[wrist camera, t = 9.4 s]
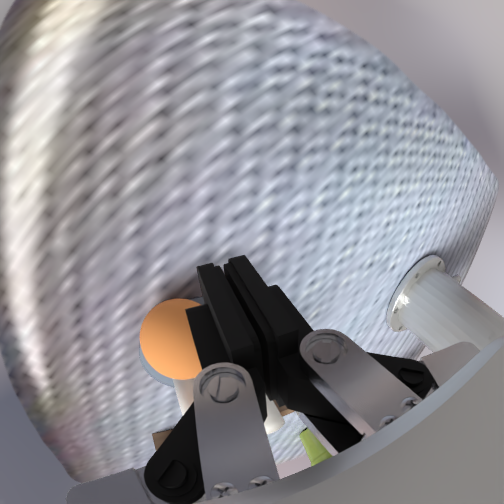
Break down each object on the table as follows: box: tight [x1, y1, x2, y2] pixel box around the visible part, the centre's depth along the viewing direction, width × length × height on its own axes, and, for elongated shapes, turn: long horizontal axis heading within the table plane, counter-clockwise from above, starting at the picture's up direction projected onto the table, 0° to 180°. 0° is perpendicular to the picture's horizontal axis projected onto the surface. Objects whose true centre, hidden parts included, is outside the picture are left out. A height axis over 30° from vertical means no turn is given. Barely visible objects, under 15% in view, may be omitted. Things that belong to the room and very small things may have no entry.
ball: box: [140, 298, 202, 380], centre depth 19 cm, size 6×6×6 cm
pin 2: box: [264, 395, 285, 435], centre depth 23 cm, size 2×2×9 cm
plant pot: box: [300, 428, 333, 466], centre depth 42 cm, size 9×9×9 cm
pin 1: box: [173, 377, 196, 415], centre depth 21 cm, size 2×2×9 cm
